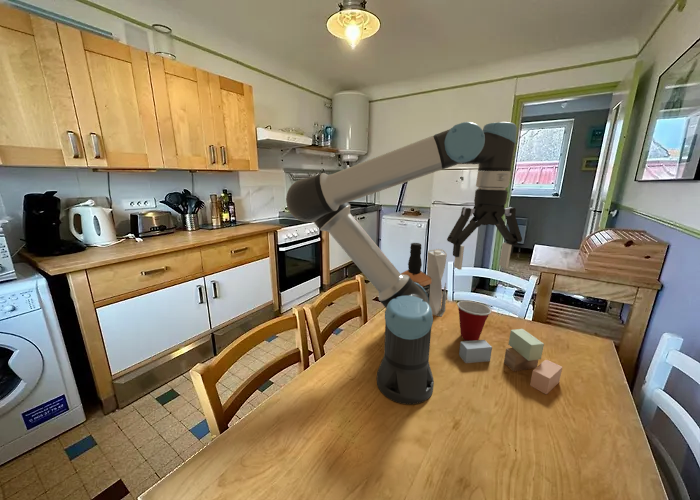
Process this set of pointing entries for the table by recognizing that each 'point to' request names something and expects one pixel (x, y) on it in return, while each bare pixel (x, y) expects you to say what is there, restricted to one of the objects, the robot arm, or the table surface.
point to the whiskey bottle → (417, 268)
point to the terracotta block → (546, 376)
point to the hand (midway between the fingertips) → (480, 267)
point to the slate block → (475, 351)
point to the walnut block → (518, 361)
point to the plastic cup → (472, 319)
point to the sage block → (526, 344)
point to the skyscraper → (436, 281)
